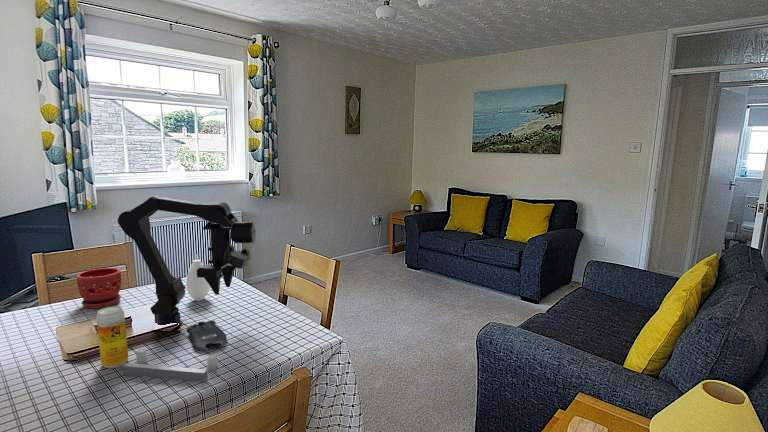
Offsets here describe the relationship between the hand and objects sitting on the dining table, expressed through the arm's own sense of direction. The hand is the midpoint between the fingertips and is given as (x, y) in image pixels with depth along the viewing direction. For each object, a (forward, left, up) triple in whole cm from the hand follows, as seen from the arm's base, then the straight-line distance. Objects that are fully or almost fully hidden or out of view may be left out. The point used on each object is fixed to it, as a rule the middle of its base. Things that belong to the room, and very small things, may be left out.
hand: (222, 290), depth 131 cm
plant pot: (-52, +10, -12) cm, 54 cm away
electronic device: (0, -10, -13) cm, 16 cm away
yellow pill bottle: (-17, -26, -12) cm, 33 cm away
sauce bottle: (-20, +19, -12) cm, 30 cm away
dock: (0, -27, -12) cm, 30 cm away
